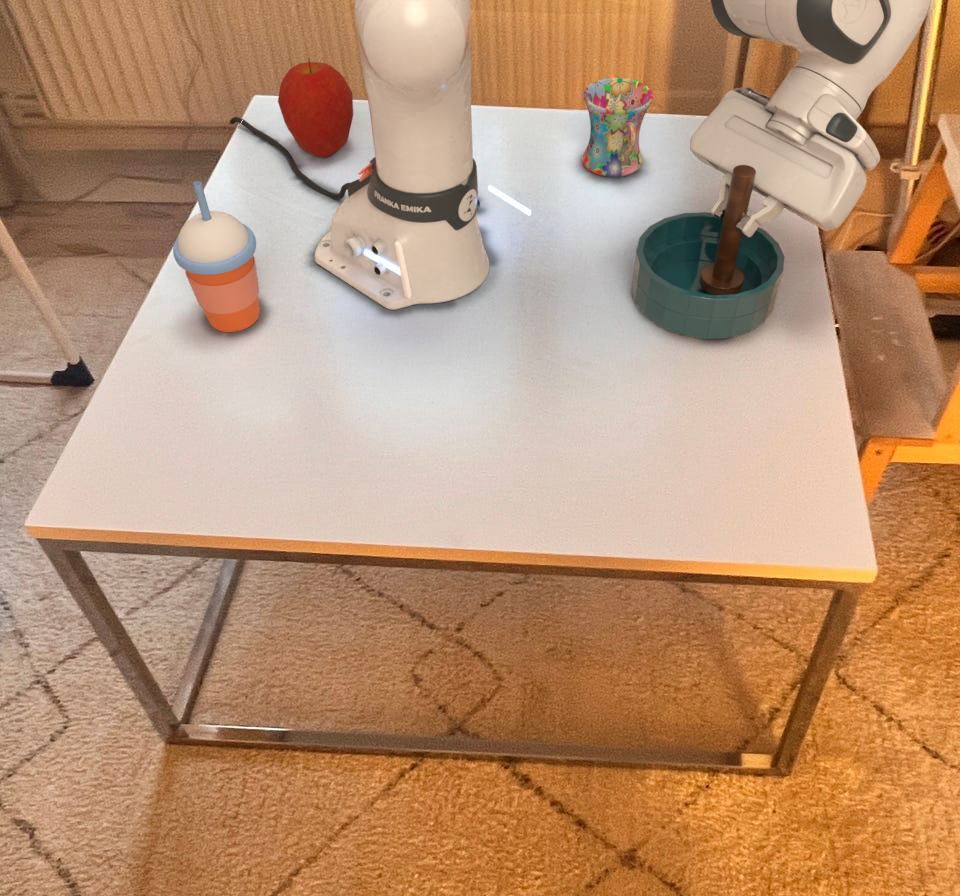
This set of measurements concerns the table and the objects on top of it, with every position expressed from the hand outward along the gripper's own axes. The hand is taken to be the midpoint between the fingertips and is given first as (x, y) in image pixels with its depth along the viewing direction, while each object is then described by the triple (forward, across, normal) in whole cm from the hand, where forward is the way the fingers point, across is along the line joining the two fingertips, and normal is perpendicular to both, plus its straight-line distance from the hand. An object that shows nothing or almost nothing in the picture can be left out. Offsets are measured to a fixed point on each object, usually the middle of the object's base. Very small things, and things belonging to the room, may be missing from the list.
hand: (729, 225), depth 103 cm
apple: (+21, -59, -6) cm, 63 cm away
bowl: (+8, -1, +6) cm, 10 cm away
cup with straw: (+41, -33, -26) cm, 59 cm away
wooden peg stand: (+6, 0, +6) cm, 8 cm away
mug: (0, -29, +14) cm, 32 cm away
